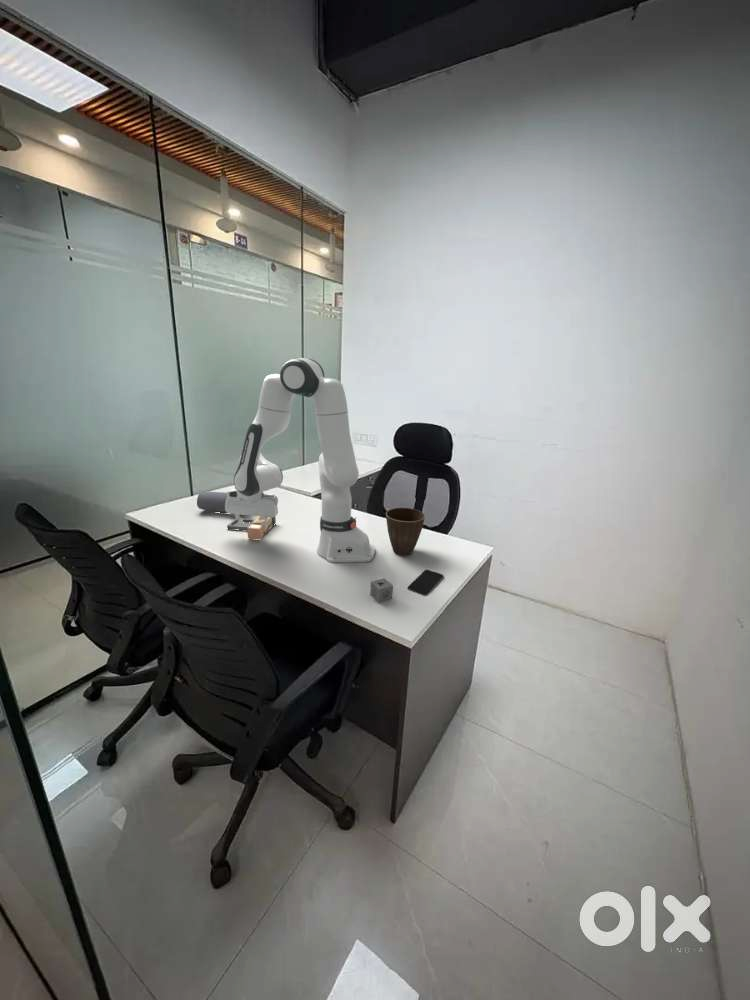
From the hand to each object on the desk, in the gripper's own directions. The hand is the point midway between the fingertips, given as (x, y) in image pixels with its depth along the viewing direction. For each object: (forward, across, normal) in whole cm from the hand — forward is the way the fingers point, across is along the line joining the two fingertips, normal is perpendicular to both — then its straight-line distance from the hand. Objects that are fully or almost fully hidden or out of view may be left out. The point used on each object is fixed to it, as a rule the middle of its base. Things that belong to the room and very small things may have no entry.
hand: (252, 525), depth 147 cm
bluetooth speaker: (+6, +22, -26) cm, 34 cm away
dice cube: (+5, -53, +35) cm, 64 cm away
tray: (+6, +9, -11) cm, 15 cm away
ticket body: (+6, -1, -10) cm, 12 cm away
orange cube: (+6, -1, -1) cm, 6 cm away
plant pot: (+4, -61, +3) cm, 61 cm away
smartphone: (+5, -68, +25) cm, 73 cm away
